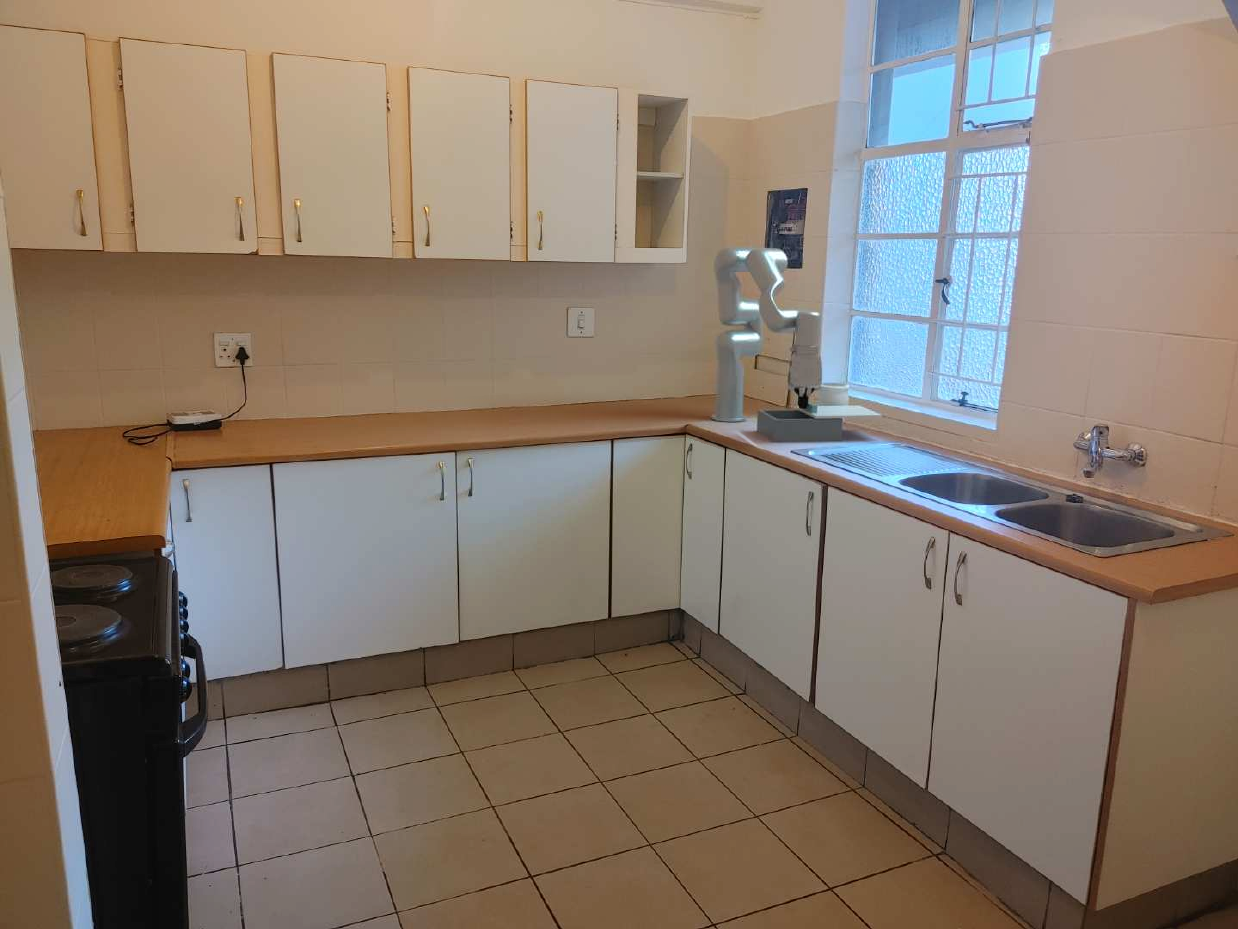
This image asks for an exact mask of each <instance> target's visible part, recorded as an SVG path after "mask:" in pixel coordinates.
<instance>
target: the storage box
mask: <svg viewBox="0 0 1238 929" xmlns="http://www.w3.org/2000/svg"><path fill="white" fill-rule="evenodd" d="M756 417H757V418H756V419H757V420H756V432H757V433H759V434H761V436H764V437H765V438H766V439H768V440H770V441H771V442H773V443H813V442H815V443H816V442H842V436H843V427H842V425H843V423H844V422H843V419H842V418H818V419H815V418H813V417H811V416H809V415H807V414H805V413H803V412H801V411H799V410H797V409H758V410H757V416H756Z"/></svg>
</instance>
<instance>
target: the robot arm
mask: <svg viewBox="0 0 1238 929" xmlns="http://www.w3.org/2000/svg"><path fill="white" fill-rule="evenodd" d="M788 262H789V261H788V257H787V254H786V252H784V251H783V250H782V249H780V248H774V247H773V248H770V247H759V246H758V247H757V246H756V247H755V246H728V247H724V248H722V249H721V250H719V251H718V252H717V254H716V256H715V258H714V262H713V263H714V264H713V272H714V277H715V281H716V285H717V308H718V319H719V320H718V321H719V322H720V324H722V325H723V326H726V327H727V326H728V327H742V328H743V329H729V330H728V329H727V330H724V331H721V332H720V333H719V334H718V335H717V336H716V338H715V342H714V344H715V352H716V363H717V365H716V366H717V368H716V369H717V370H716V392H715V393H716V394H715V396H716V397H715V413H712V414H711V416H710V419H711V418H712V420H713V419H714V420H713V421H717V422H723V423H724V422H725V423H726V422H727V423H738V422H739V423H740V422H745V421H746V420H747V415H746V414H743V405H744V384H745V368H744V365H743V362H742V360H741V358H745V357H746V358H747V357H755V356H758V355H760V353H761V352H762V350H763V347H764V324H765V326H766V328H767V329H768V330H769V331H770V332H772V333H775V334H785V333H786V334H788V333H789V334H790V333H791V334H794V345H793V346H791V347H790V348H789V352H792V353H793V354H792V355H791V357H790V360H789V365H788V366H789V367H788V373H787V388H786V389H787V390H789V391H791V392H794V393H795V394H796V395H797V406H799V408H801V409H807V406H808V402H809V398H810V396H811V395H812V393H814V392H815V391H820V389H821V387H820V386H821V384H822V383H823V363H822V356H821V355H819V345H820V330H821V314H820V313H819V312H818V311H813V310H805V309H801V308H779V307H778V306H777V305H776V303H775V300H774V299H773V298H775V297H776V296H778V295H779V294H780V293H781V292H782V291H783V290H784V288H785V287H786V280H785V279H784V277H783V275H782V273H784V272H785V270H787V268H788ZM736 273H750V276H751V278H753V281H754V282H755V284H756V285H757V288H758V290H759V292H760V293H761V294H760V296H759V301H757V300H756V299H754V298H747V297H746V298H743V286H742V283H741V281H740V278H739V277H738V275H737V274H736Z"/></svg>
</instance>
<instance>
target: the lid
mask: <svg viewBox="0 0 1238 929" xmlns="http://www.w3.org/2000/svg"><path fill="white" fill-rule="evenodd" d="M795 410H799V411H801V412H803V413H805V414H807V415H809V416H811V417H813V418H815V419H818V418H845V419H868V418H869V419H874V418H875V419H876V418H877V419H878V418H879V419H880V418H881V419H882V418H883V414H880V413H878V412H875V411H873V410H872V409H870V408H869V409H868V408H866V407H863V406H861V405H848V406H817V404H815V403H813V402H810V401H808V406H807V409H801V408H799V406H798V405H797V406H795Z"/></svg>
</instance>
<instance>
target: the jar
mask: <svg viewBox="0 0 1238 929" xmlns="http://www.w3.org/2000/svg"><path fill="white" fill-rule="evenodd" d="M820 387H821V389H820V390H818V394H817V404H816V405H817V406H849V404H850V403H849V402H850V400H849V397H850V396H849V389H850V385H849V384H846V383H840V382H822V384H821V386H820ZM842 419H843V423H844V422H845V420H846V418H842ZM843 427H844V425H843V424H842V428H843Z"/></svg>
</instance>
